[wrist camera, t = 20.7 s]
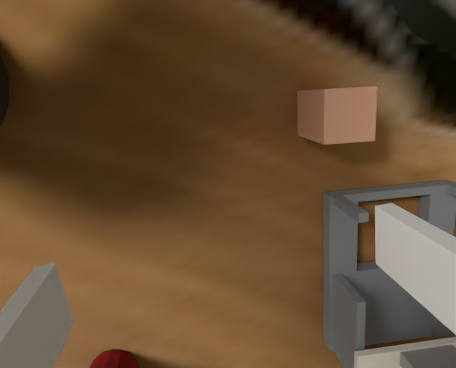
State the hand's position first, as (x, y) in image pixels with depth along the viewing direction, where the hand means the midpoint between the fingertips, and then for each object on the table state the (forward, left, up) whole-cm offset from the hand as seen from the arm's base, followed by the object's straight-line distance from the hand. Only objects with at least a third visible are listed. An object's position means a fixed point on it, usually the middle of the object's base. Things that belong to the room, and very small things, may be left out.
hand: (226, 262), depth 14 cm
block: (-4, +14, -26) cm, 30 cm away
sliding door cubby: (+16, +22, -26) cm, 38 cm away
